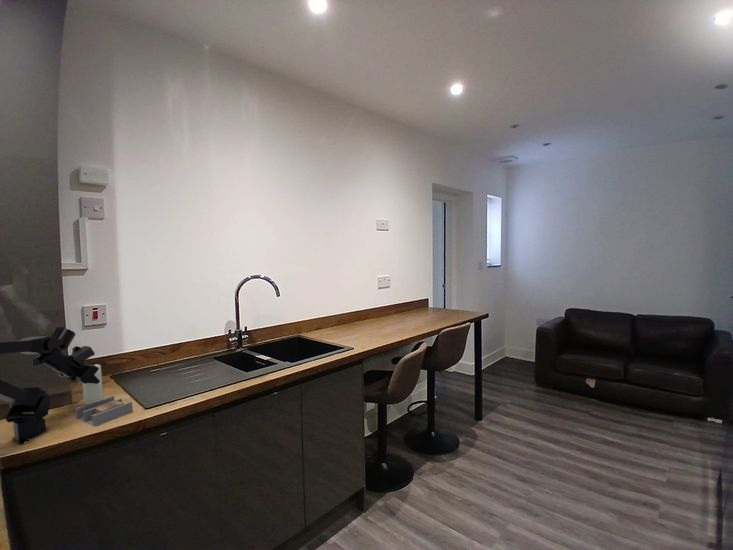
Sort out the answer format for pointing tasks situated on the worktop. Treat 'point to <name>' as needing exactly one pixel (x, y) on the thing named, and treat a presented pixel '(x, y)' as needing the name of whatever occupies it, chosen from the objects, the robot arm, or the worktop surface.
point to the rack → (105, 416)
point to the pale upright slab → (93, 389)
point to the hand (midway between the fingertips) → (96, 381)
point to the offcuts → (106, 408)
